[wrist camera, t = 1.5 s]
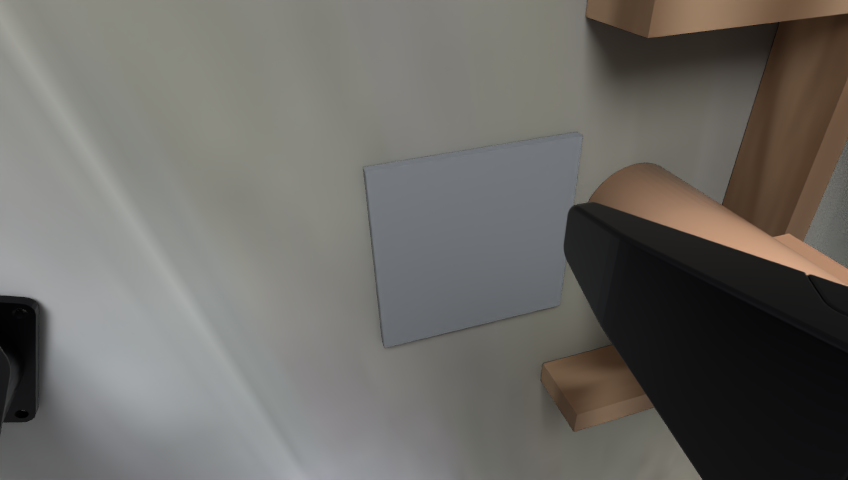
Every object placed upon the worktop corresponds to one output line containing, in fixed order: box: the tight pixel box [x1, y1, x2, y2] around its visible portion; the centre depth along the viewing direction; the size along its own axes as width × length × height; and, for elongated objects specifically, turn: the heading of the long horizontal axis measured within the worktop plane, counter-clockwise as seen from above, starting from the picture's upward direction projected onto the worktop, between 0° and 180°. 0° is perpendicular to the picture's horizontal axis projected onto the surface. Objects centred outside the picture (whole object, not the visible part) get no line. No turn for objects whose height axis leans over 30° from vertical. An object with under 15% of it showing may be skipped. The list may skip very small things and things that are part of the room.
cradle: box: [541, 0, 848, 432], centre depth 27 cm, size 12×23×4 cm, turn 2°
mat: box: [363, 132, 583, 348], centre depth 26 cm, size 10×10×1 cm
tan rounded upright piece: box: [588, 163, 848, 286], centre depth 23 cm, size 8×6×14 cm
